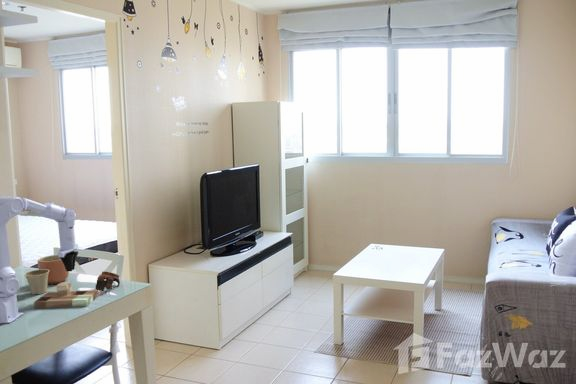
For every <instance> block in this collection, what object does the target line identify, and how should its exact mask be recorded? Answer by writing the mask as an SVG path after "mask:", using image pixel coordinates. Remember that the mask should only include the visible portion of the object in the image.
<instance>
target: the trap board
mask: <svg viewBox="0 0 576 384" xmlns="http://www.w3.org/2000/svg"><path fill="white" fill-rule="evenodd" d="M99 297H100V295H99V290H95V289H93V290H91V289H90V290H89V289H88V290H86V289H85V290H72V292H71V293H70V294H68V295H57V291H47V292H45V293H44V294H43V295H42V296H40V297H39V298H38V299H36V300H34V302H33V304H34V309H45V308H47V309H48V308H70V307H71V308H72V307H73V308H74V307H76V308H77V307H88V306H89V305H90V304H92V303H93V302H94V301H95V300H96V299H97V298H99Z"/></svg>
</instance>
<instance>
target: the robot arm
mask: <svg viewBox="0 0 576 384" xmlns="http://www.w3.org/2000/svg"><path fill="white" fill-rule="evenodd" d="M26 210H29V211H32V212H37V213H40V215H41V216H42V217H43V218H45V219H46V218H47V219H49V220H54V221H55V222H57V228H58V235H59V247H60V249H59V252H57V255H58V257H59V258H60V259H61V260H62V262H63V264H64V266H65V269H66V271H69V272H72V271H73V270H74V271H75V267H76V261H77V257H78V256H79V255H78V254H79V251H78V250H79V249H80V247H79V244H76V235H75V221H76V219H77V214H76V213H75V211H74V210H73V208H65V207H64V206H63V205H57V204H55V202H52V201H48V202H45V203H44V204H42V203H40V202H37V201H35V200H32V199H29V198H26V197H20V196H4V195H0V324H10V323H13V322H14V321H15V320H17V319H18V318H20V317H21V316H22V315H24V312H20V311H19V308H18V307H19V306H18V298H17V293H18V290H19V289H20V280H19V279H18V277H17V273H16V271H15V270H14V268H12V266H11V265H12V264H11V259H10V258H11V257H10V256H11V255H10V250H9V241H8V240H9V239H8V232H7V231H8V230H7V224H8V222H9V221H10V220H11V219H13V218H15V217H16V216H18V215H20V214H21V213H22V212H23V211H26Z"/></svg>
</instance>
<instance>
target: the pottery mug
mask: <svg viewBox="0 0 576 384" xmlns="http://www.w3.org/2000/svg"><path fill="white" fill-rule="evenodd" d="M119 278H120V275H118V274H116V273H114V272H110V271H102V272H101V274H99V276H98V277H97V278H96V284H95V289H94V290H98V292H99V291H100V292H105V289H106V290H111V289H112V287H113V284H114V282H116V283H117V287H120V282H121V281H120V279H119Z"/></svg>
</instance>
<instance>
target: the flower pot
mask: <svg viewBox="0 0 576 384" xmlns="http://www.w3.org/2000/svg"><path fill="white" fill-rule="evenodd" d="M48 273H49V270H46V269H41V270H39V269H35V270H34V269H33V270H30V271H27V272H26V273H24V277H25V279H26V281H27V285H28V287H29V290H30V294H31V295H42V294H46V293H47V292H48V284H47V283H48Z"/></svg>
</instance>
